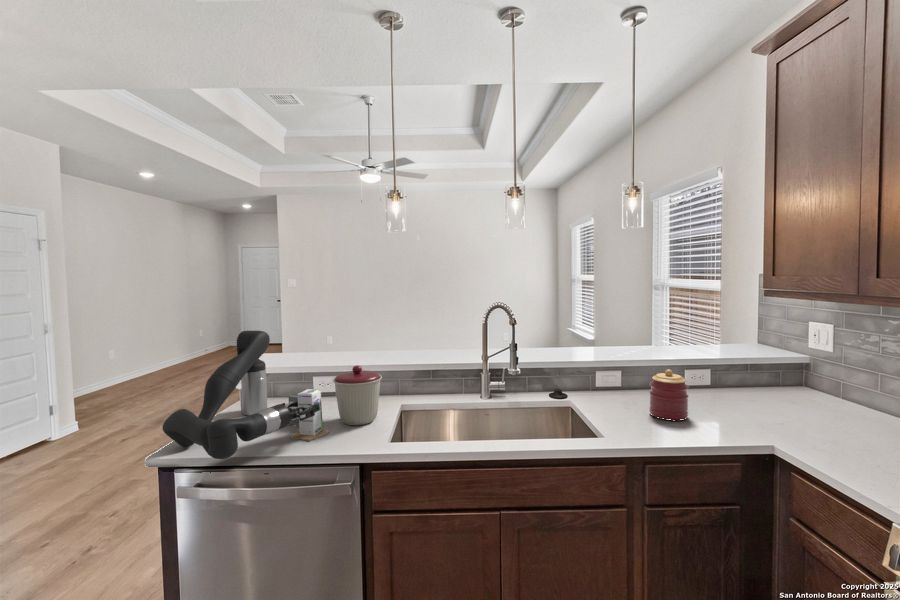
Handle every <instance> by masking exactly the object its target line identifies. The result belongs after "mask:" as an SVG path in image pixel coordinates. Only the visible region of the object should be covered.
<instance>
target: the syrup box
mask: <svg viewBox="0 0 900 600" xmlns="http://www.w3.org/2000/svg"><path fill="white" fill-rule="evenodd" d="M297 396H298V407H300V406H304V407H310V406H312V405H315V404H319V410H318V411H316V412H315V416H312V417H310V418H307V419H305V420H302V421H300V420H299V426H298V427H299V431H300V434H301V435H311V436H315V434H317V433H318V432H320V431H321V430H324V428H323V427H324V426H323V425H324V424H323V410H322V409H323V408H322V392H321V389H317V388H316V389H315V388H313V389H311V388H310V389H309V388H307V389H305V390H304V391H301V392H299V393H297ZM299 410H300V412H301V411H302V409H299Z"/></svg>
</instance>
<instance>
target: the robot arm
mask: <svg viewBox="0 0 900 600" xmlns="http://www.w3.org/2000/svg"><path fill="white" fill-rule="evenodd" d="M270 341H271V340H270V335H269V333H268V332H266V331H263V330H242V331H240V333H238V336H237V337H236V353H237V355H235V356H234V357H232V358H231V359H229V360H227V361H225V362H224V363H222V364H221V365H219V366H218V367H217V368H216V369H215V370H214V372H213V373H212V374H211V375H210V376H209V377H208V379H207V380H206V382H205V385H204V391H203V393H204V394H203V401H202V402H203V404H202V407H201V410H200V412H199V414H198V416H197V415H196V414H194V412H192V411H191V410H189V409H186V408H180V409H178V410H176V411H174V412H173V413H171V414H170V415H169V416H168V417H167V418H166V419H165V421H164V422H163V424H162V427H161V429H162V431H163V433H165V435H166V436H167V437H168V438H170V439H171V440H173V442H175V443H176V444H178V445H179V446H181V447H183V448H189V447H192V446H193V445H195V444H196V445H198V446H200V447H202V448H203V449H204V450H205V452H206V453H207V455H208V456H210V457H211V458H213V459H216V460H225V459H228V458H231V457H232V456H234V454H236V452H237V451H238V448H239V443H238V438H239V439H240V440H241V441H242V442H251V441H252V440H255V439H258V438H260V437H263V436H266V435H270V434H272V433H274V432H277V431H279V430H281V429H283V428H286V427H287V426H289V425H288V424H289V423H290V421H291V420H295V419H296V418H299V420H300V421H302V420H305V419H307V418H310V417H312V416H315V412H316V411H318V410H319V404H315V405H312V406H310V407H304V406H300V407H298V401H296V402H293V403H289V402H288V403H285V402H282V403H280V404H276V405H275V404H274V405H273V406H270V407H268V392H267V391H268V390H267V389H268V388H267V386H268V385H267V370H266V369H267V368H266V362H265V361H264V360H261V359H260V358H261V357H262V356H263V354H264V353H266V351H267V350H268V348H269V346H270ZM239 383H240V384H241V386H240V387H241V389H240V390H239V395H240V397H239V398H240V412H241V414H243V415H244V417H238V418H221V419H216V420H214V418H215V416H216V414H217V413H218V411H219V409H220V408H221V407H222V405H223V404H224V402H226V400H227V399H228V398H229V396H230V395H231V394H232V393H233V391H234V390H235V389H236V388H237V386H238V385H239ZM299 409H302V411H301V412H300V410H299ZM213 420H214V421H213Z"/></svg>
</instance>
